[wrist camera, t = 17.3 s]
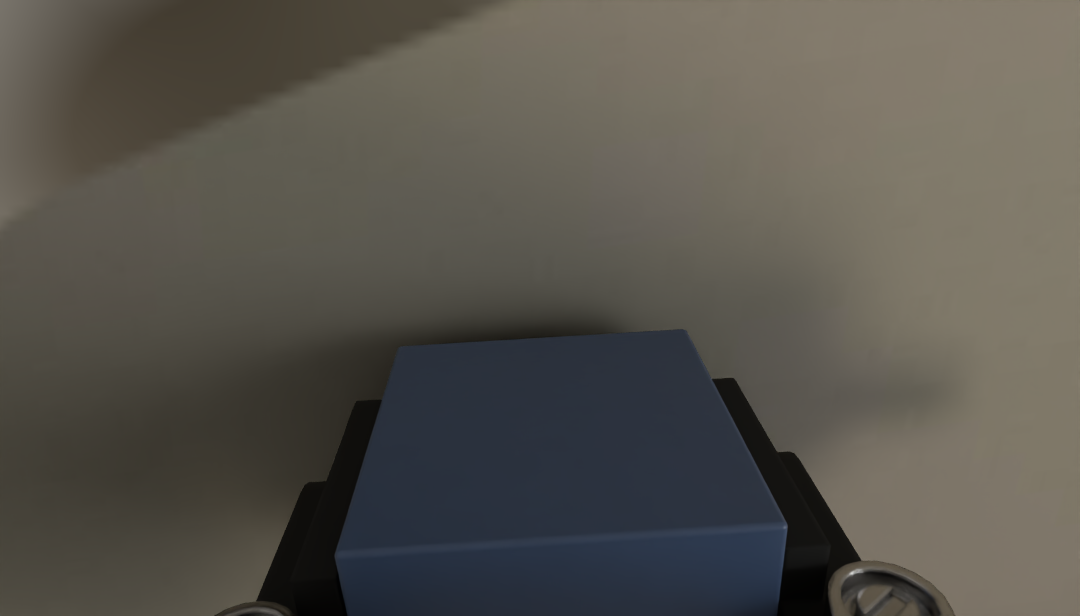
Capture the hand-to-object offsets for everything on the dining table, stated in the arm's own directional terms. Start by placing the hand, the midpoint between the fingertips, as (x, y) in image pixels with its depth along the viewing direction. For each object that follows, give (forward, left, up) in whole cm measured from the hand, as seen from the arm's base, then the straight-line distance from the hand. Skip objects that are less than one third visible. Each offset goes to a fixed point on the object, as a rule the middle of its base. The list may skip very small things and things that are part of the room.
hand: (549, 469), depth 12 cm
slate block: (0, 0, 0) cm, 0 cm away
